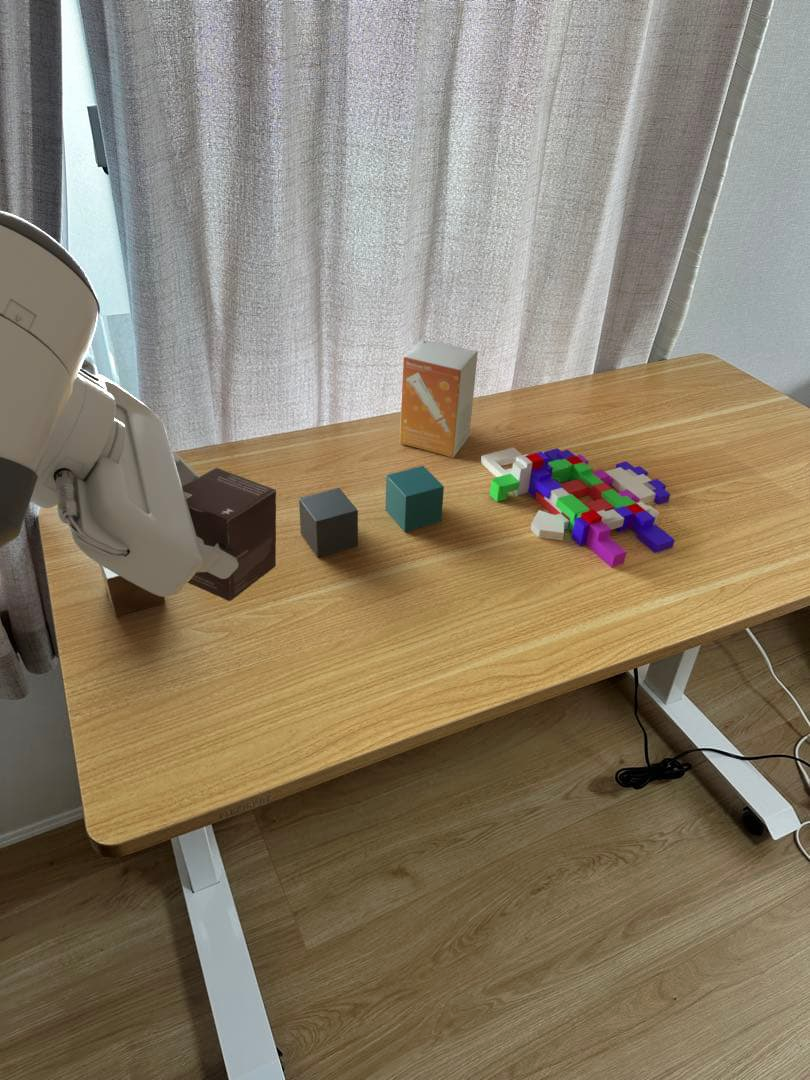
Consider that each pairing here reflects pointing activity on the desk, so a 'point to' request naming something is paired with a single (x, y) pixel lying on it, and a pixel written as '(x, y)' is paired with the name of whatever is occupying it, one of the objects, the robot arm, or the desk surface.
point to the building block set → (570, 513)
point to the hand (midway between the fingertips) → (218, 528)
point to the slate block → (328, 522)
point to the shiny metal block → (127, 594)
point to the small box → (437, 397)
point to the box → (233, 527)
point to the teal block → (414, 498)
